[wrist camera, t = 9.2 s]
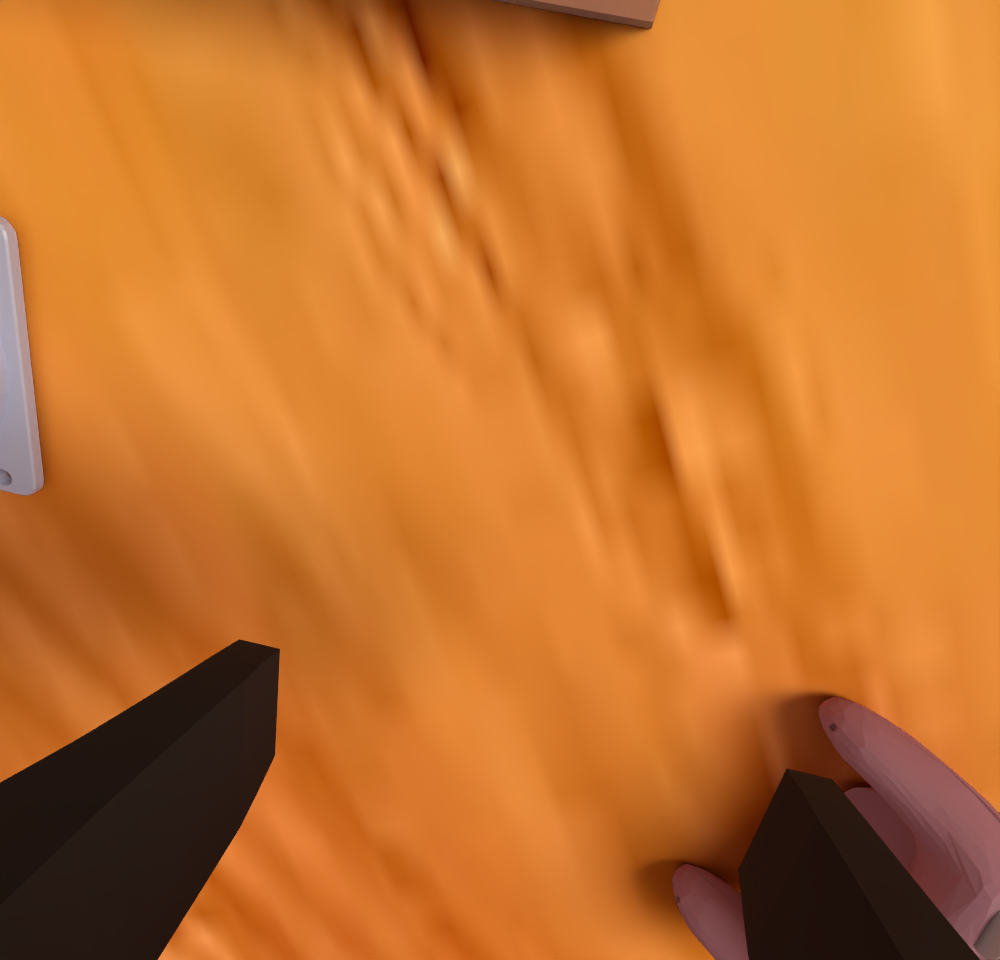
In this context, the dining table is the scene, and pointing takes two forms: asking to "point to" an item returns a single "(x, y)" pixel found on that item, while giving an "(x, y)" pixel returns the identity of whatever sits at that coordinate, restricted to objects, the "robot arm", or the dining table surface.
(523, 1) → the bore block
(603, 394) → the dining table surface
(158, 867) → the robot arm
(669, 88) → the dining table surface
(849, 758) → the video game controller
